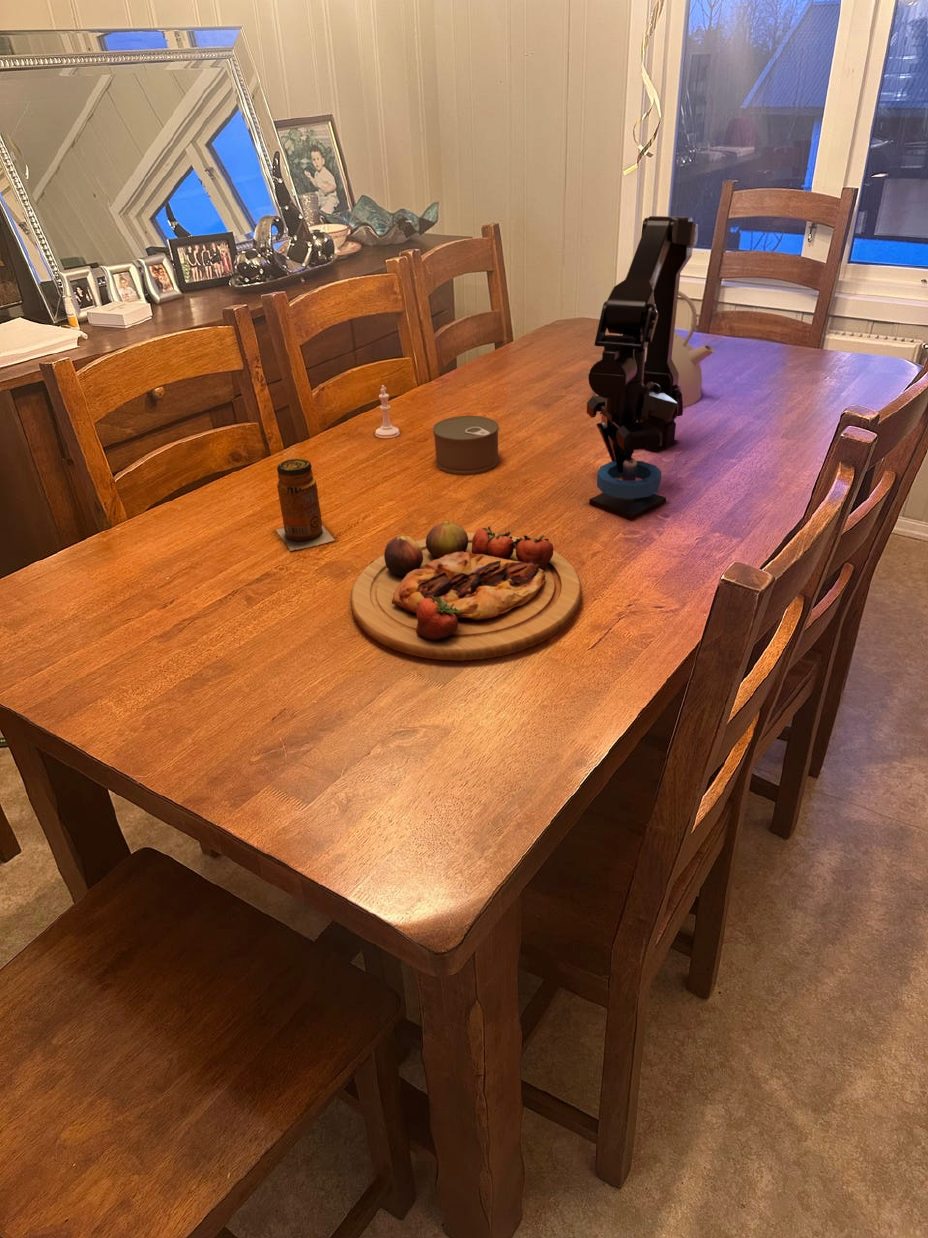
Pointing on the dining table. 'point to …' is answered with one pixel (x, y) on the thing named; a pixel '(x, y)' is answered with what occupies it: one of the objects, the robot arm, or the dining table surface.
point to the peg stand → (628, 506)
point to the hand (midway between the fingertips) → (619, 470)
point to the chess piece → (386, 418)
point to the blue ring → (629, 488)
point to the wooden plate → (465, 594)
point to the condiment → (300, 506)
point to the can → (466, 444)
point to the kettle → (688, 361)
